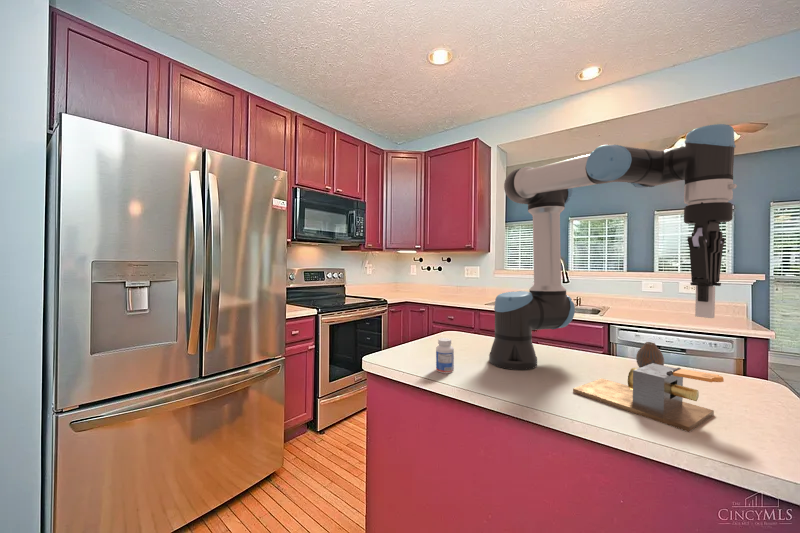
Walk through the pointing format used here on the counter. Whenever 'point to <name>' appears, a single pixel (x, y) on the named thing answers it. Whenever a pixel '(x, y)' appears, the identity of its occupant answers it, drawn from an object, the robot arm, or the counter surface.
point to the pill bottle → (444, 356)
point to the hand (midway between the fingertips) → (704, 316)
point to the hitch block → (649, 397)
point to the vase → (649, 355)
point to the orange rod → (698, 375)
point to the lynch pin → (672, 389)
